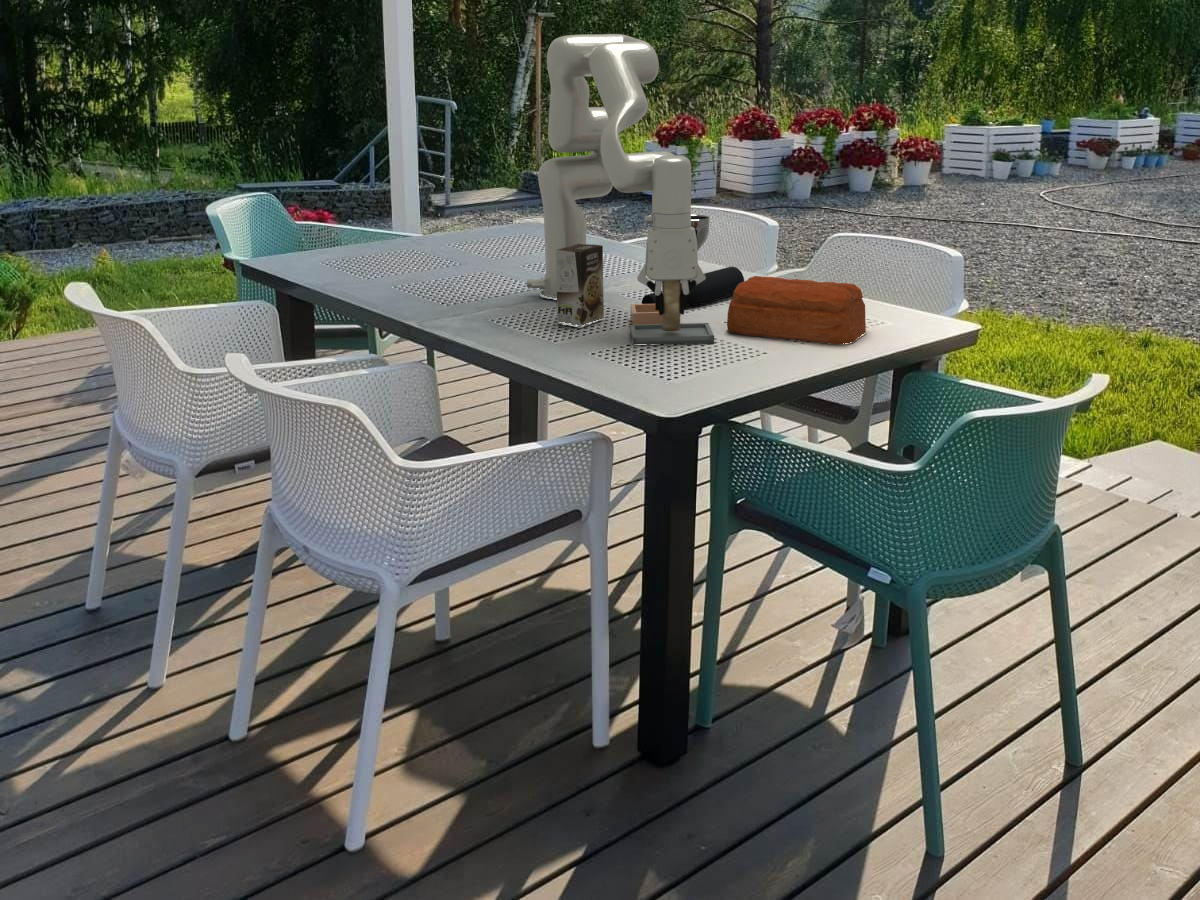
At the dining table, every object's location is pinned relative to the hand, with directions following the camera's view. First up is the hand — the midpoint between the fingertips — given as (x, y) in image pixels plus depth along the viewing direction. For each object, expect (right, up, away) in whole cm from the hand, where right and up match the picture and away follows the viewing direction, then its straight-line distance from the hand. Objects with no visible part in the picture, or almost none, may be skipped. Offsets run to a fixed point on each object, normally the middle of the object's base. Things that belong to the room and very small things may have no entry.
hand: (671, 312), depth 247 cm
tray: (0, -5, +2) cm, 5 cm away
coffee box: (-18, -1, +16) cm, 24 cm away
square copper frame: (-3, -1, +14) cm, 14 cm away
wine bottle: (+17, +12, +39) cm, 44 cm away
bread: (+26, -4, +5) cm, 26 cm away
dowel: (0, -3, +1) cm, 3 cm away
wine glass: (+9, +15, +58) cm, 60 cm away
